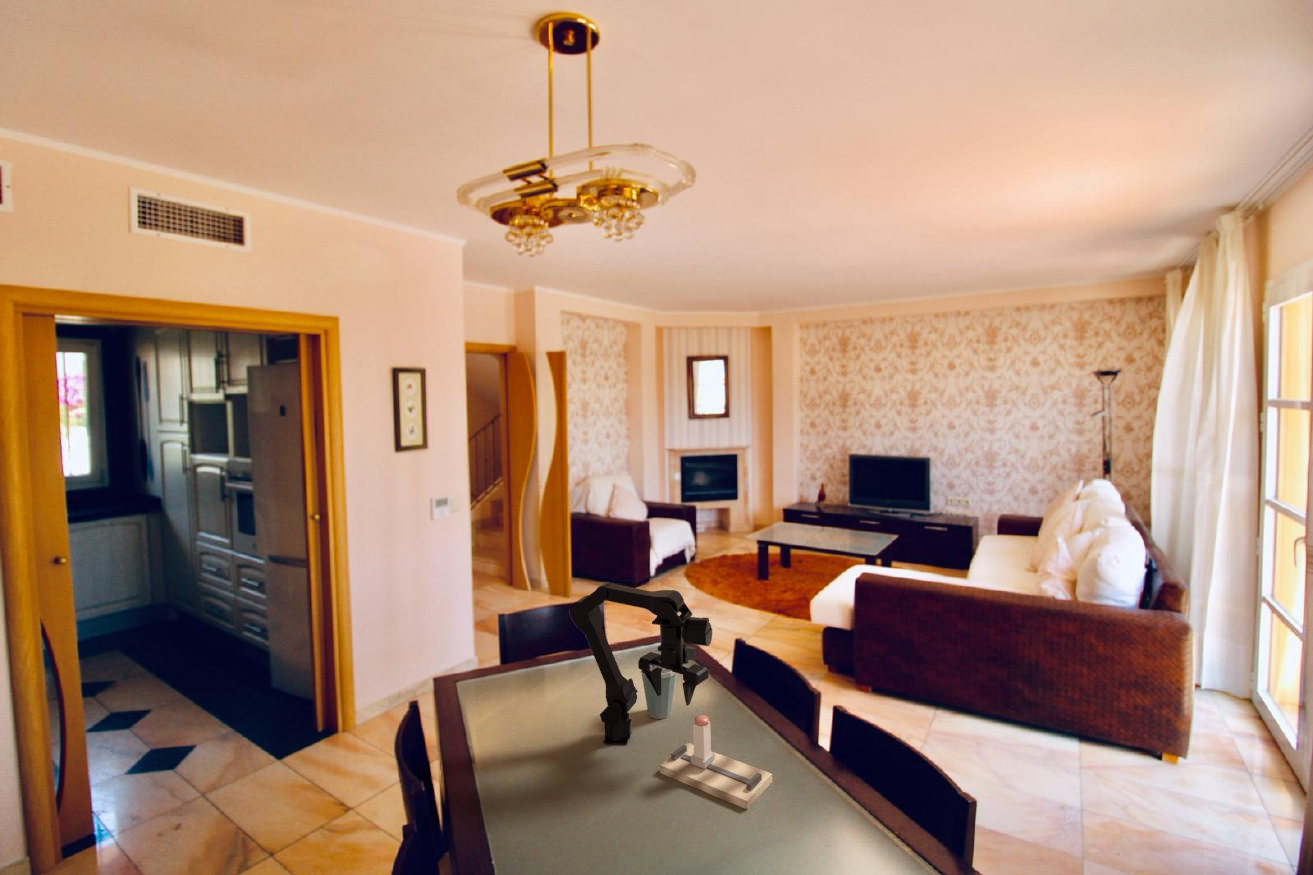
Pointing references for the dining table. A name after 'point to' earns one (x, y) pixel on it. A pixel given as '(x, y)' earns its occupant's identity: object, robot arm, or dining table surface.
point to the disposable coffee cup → (662, 703)
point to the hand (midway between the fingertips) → (673, 700)
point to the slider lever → (702, 742)
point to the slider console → (718, 776)
